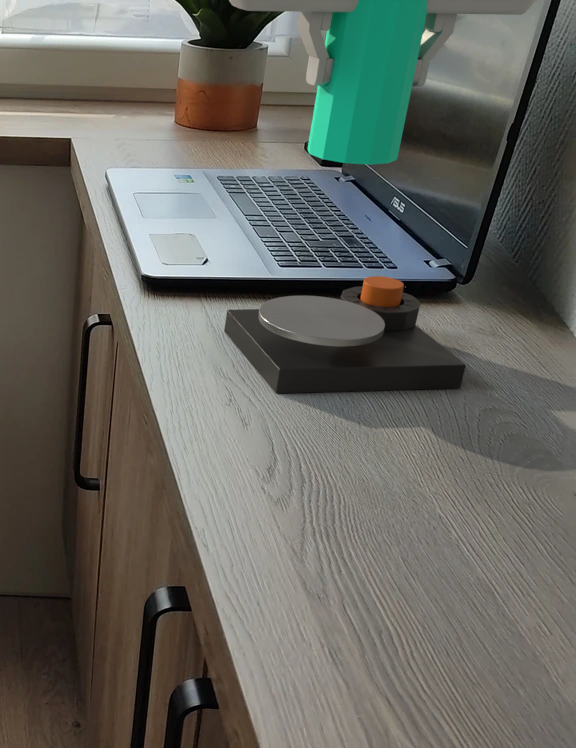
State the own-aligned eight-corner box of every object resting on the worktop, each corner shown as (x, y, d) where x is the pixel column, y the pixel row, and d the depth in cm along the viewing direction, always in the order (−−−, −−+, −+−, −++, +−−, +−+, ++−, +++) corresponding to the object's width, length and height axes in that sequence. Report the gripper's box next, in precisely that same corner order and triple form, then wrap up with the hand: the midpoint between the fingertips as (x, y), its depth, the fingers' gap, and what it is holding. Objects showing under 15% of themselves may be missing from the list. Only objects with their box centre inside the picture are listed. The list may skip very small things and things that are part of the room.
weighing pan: (352, 301, 86) (354, 294, 85) (405, 345, 78) (407, 337, 77) (241, 303, 85) (242, 296, 84) (283, 348, 77) (284, 340, 77)
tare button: (389, 296, 88) (393, 275, 87) (406, 309, 85) (411, 288, 85) (353, 297, 88) (357, 276, 87) (369, 310, 85) (374, 289, 84)
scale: (390, 325, 91) (399, 285, 89) (466, 388, 80) (477, 343, 78) (222, 329, 89) (227, 288, 88) (275, 393, 78) (283, 348, 77)
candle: (415, 158, 75) (456, -34, 69) (359, 168, 72) (396, -32, 66) (344, 141, 79) (377, -41, 74) (288, 150, 76) (318, -39, 70)
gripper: (537, -146, 71) (485, 78, 77) (231, -155, 68) (204, 75, 75) (597, -147, 65) (535, 94, 72) (265, -157, 63) (233, 92, 69)
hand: (363, 85), depth 73 cm, fingers closed on candle, 5 cm apart
